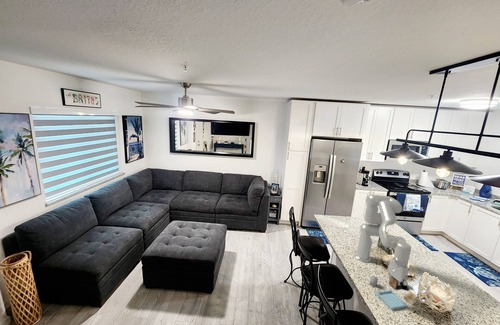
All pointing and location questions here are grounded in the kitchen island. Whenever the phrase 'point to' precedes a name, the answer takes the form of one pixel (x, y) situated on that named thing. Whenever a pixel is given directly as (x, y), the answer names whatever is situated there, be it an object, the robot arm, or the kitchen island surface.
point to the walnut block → (393, 282)
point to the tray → (391, 300)
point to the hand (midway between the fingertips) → (394, 286)
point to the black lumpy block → (405, 287)
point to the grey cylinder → (373, 281)
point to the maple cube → (410, 297)
